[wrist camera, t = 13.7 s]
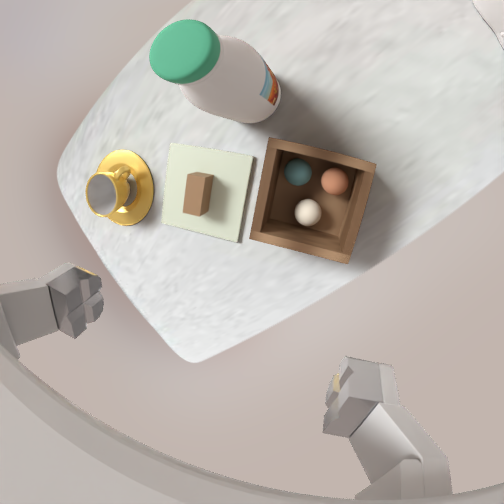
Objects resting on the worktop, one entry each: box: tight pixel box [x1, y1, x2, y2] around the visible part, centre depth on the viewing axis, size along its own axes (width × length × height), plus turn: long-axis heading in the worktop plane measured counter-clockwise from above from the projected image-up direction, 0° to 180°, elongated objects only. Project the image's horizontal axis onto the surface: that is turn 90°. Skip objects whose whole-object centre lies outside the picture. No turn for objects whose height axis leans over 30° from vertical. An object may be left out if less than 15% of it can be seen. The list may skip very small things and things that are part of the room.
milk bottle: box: [149, 20, 281, 123], centre depth 23 cm, size 8×8×20 cm
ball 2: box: [295, 199, 322, 226], centre depth 34 cm, size 3×3×3 cm
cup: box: [86, 150, 153, 226], centre depth 38 cm, size 12×12×5 cm
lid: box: [161, 143, 254, 242], centre depth 37 cm, size 12×12×4 cm
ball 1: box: [284, 158, 312, 186], centre depth 32 cm, size 3×3×3 cm
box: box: [249, 137, 376, 264], centre depth 32 cm, size 11×11×7 cm
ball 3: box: [321, 168, 349, 195], centre depth 31 cm, size 3×3×3 cm
